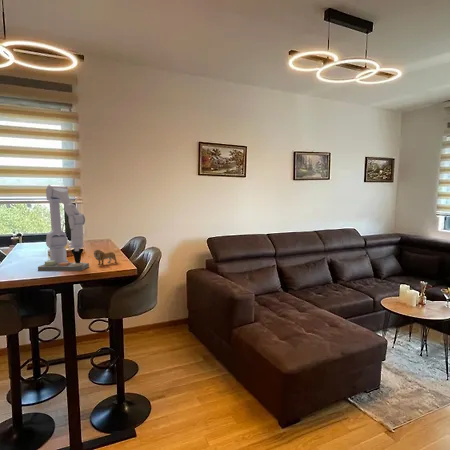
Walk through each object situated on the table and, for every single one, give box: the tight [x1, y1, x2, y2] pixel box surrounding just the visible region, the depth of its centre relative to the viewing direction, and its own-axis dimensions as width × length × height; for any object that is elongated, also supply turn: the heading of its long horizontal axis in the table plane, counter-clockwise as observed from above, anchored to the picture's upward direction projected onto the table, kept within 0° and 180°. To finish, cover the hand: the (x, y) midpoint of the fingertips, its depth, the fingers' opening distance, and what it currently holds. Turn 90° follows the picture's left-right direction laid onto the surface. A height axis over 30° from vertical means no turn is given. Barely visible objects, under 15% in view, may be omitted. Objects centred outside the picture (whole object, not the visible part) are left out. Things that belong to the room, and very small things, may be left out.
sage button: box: [44, 259, 56, 266], centre depth 176 cm, size 4×4×3 cm
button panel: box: [37, 262, 90, 272], centre depth 177 cm, size 10×22×2 cm, turn 93°
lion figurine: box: [93, 249, 117, 266], centre depth 190 cm, size 15×5×9 cm, turn 147°
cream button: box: [71, 261, 84, 266], centre depth 177 cm, size 4×4×3 cm
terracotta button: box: [59, 261, 71, 266], centre depth 176 cm, size 4×4×3 cm
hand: (77, 262), depth 177 cm, fingers closed, pressing on cream button
